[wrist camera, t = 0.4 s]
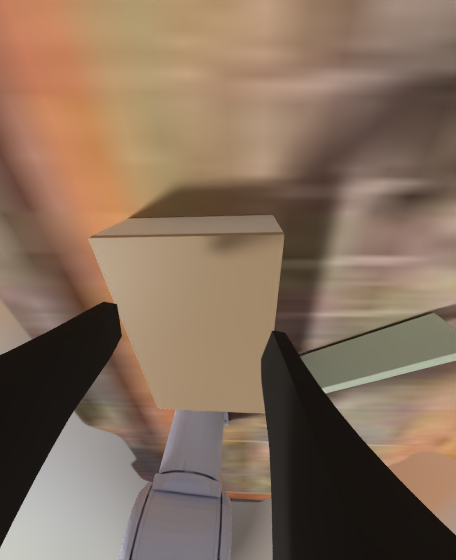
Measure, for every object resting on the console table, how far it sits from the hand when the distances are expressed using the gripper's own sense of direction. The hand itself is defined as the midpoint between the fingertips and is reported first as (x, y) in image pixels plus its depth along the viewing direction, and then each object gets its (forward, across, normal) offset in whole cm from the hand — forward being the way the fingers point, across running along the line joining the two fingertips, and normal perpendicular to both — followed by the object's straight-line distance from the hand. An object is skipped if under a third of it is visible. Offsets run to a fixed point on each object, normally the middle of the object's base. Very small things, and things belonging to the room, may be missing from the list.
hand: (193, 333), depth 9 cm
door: (+9, -15, +9) cm, 20 cm away
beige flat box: (+10, 0, +7) cm, 12 cm away
